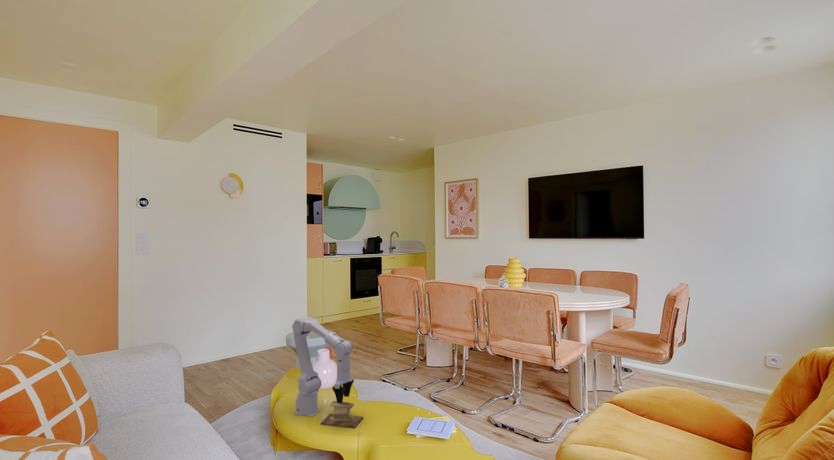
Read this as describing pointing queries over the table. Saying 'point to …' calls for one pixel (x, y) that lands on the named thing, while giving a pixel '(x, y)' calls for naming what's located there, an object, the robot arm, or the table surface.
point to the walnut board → (342, 424)
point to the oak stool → (342, 412)
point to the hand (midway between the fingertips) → (343, 399)
